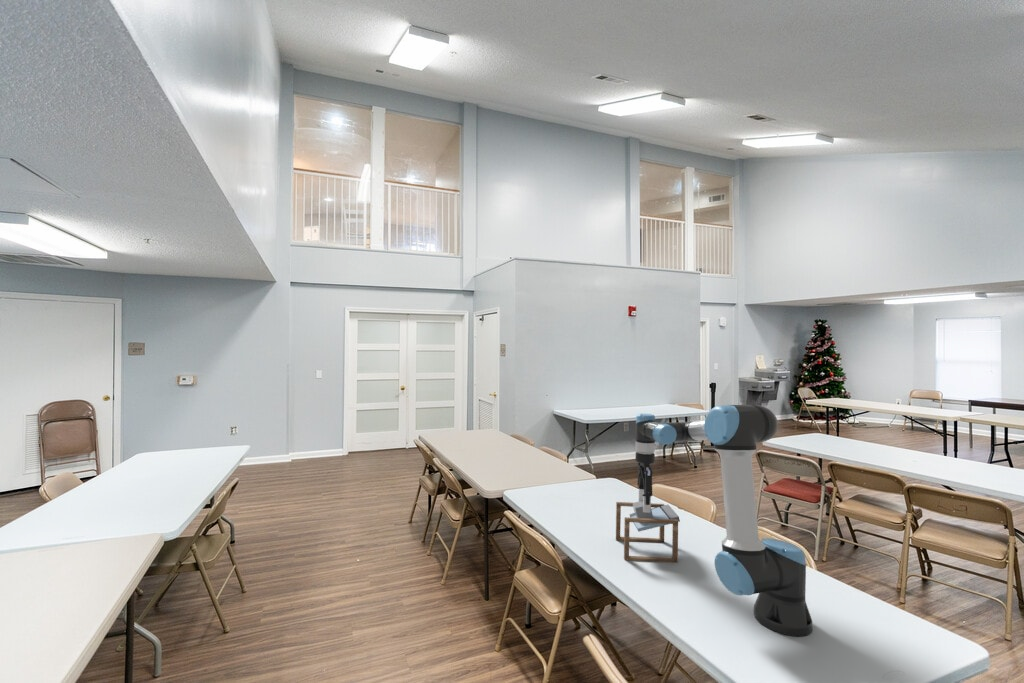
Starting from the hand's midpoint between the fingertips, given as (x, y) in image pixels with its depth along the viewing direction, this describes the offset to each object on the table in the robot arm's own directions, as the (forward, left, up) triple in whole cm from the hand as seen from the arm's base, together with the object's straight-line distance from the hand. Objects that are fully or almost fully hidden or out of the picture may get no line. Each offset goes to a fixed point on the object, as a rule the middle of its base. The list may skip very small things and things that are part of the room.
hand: (644, 508), depth 185 cm
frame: (0, 0, -17) cm, 17 cm away
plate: (0, -4, -4) cm, 6 cm away
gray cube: (0, 0, -4) cm, 4 cm away
